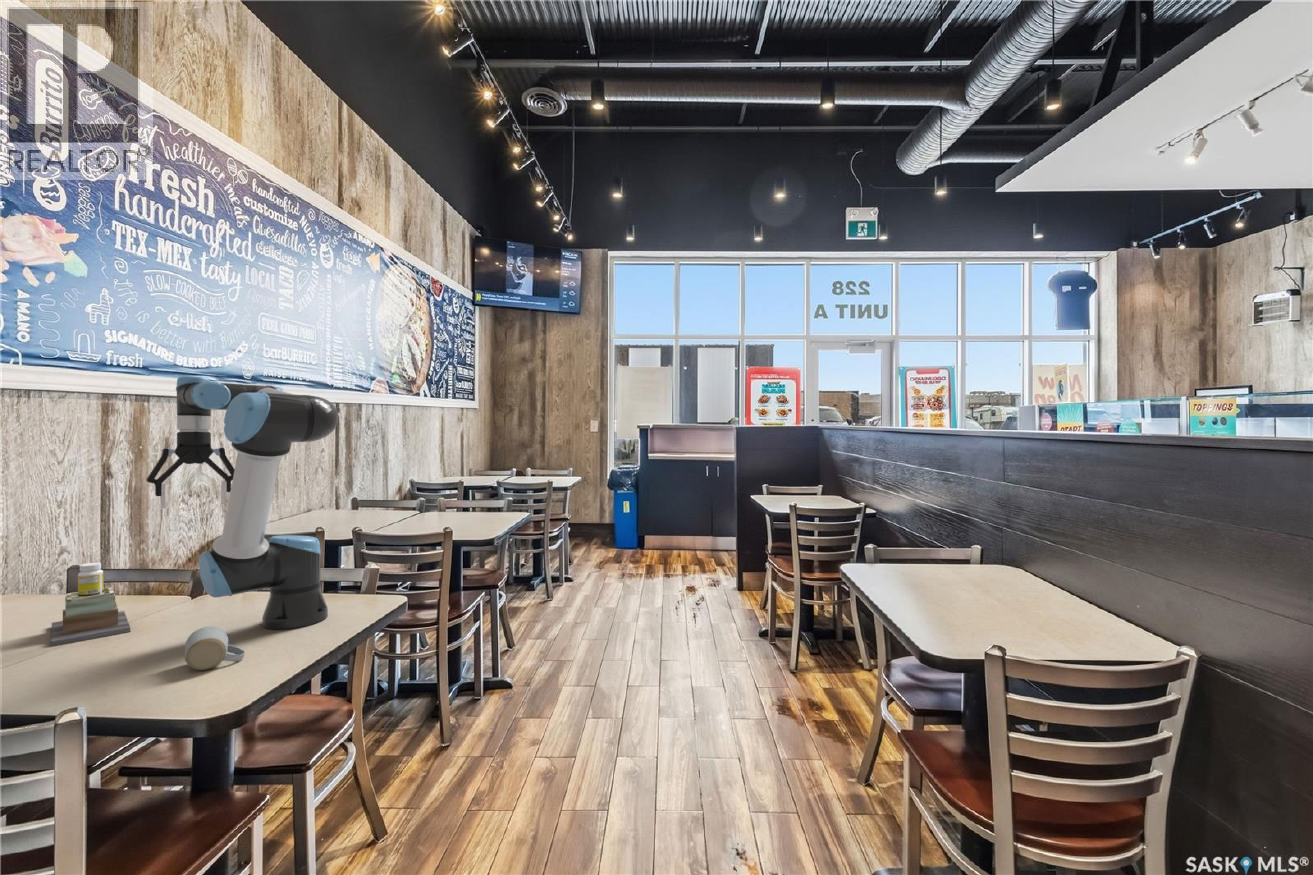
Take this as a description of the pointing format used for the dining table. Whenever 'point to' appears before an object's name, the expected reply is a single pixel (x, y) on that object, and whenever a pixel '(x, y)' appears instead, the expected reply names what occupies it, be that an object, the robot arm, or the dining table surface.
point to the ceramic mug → (210, 648)
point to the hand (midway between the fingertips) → (194, 505)
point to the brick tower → (89, 618)
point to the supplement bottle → (90, 580)
